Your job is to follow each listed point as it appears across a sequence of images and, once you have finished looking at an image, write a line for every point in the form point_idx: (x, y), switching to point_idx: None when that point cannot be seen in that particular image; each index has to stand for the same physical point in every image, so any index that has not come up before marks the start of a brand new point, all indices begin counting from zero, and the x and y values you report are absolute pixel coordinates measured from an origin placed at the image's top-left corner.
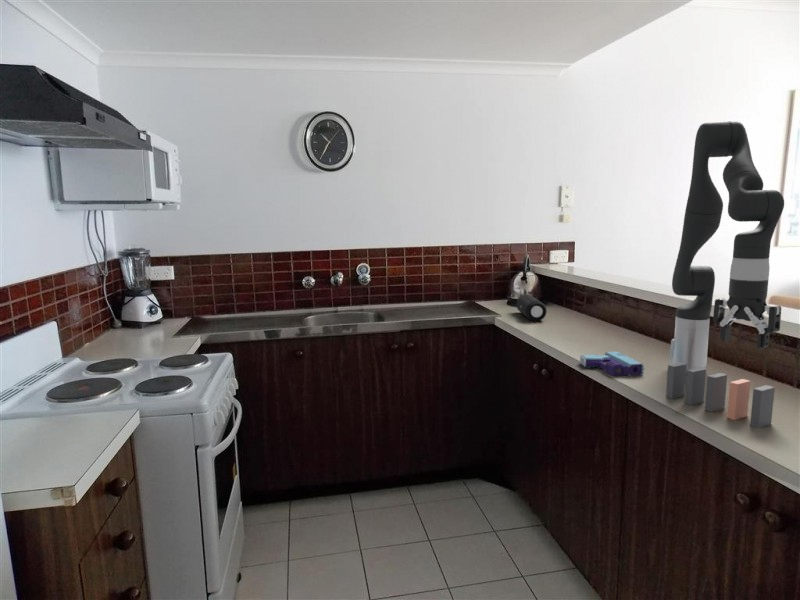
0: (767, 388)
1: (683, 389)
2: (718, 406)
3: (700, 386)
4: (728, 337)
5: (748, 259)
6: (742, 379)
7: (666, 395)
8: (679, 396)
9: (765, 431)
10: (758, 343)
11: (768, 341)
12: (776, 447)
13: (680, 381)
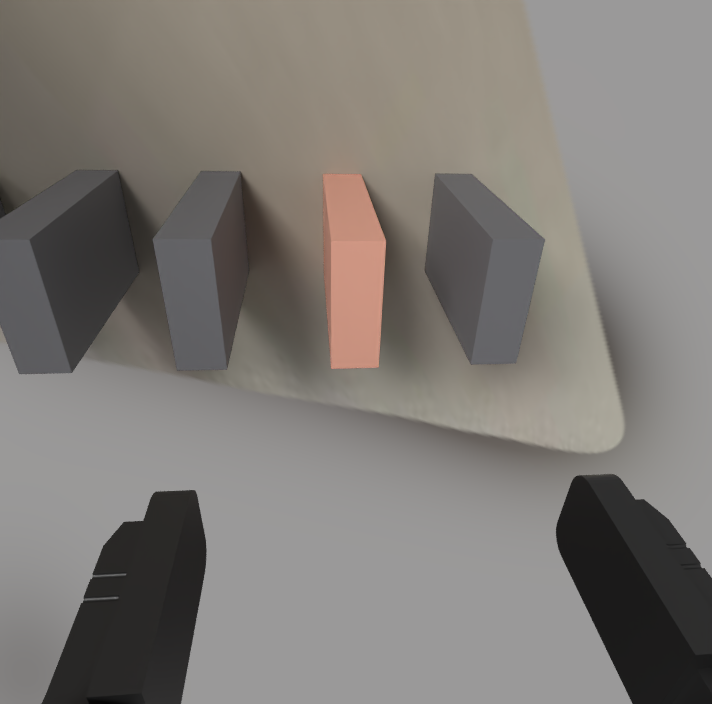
0: (521, 299)
1: None
2: (242, 231)
3: (93, 244)
4: (187, 554)
5: None
6: (338, 256)
7: None
8: (3, 213)
9: None
10: (591, 595)
11: (694, 560)
12: (563, 374)
13: None
